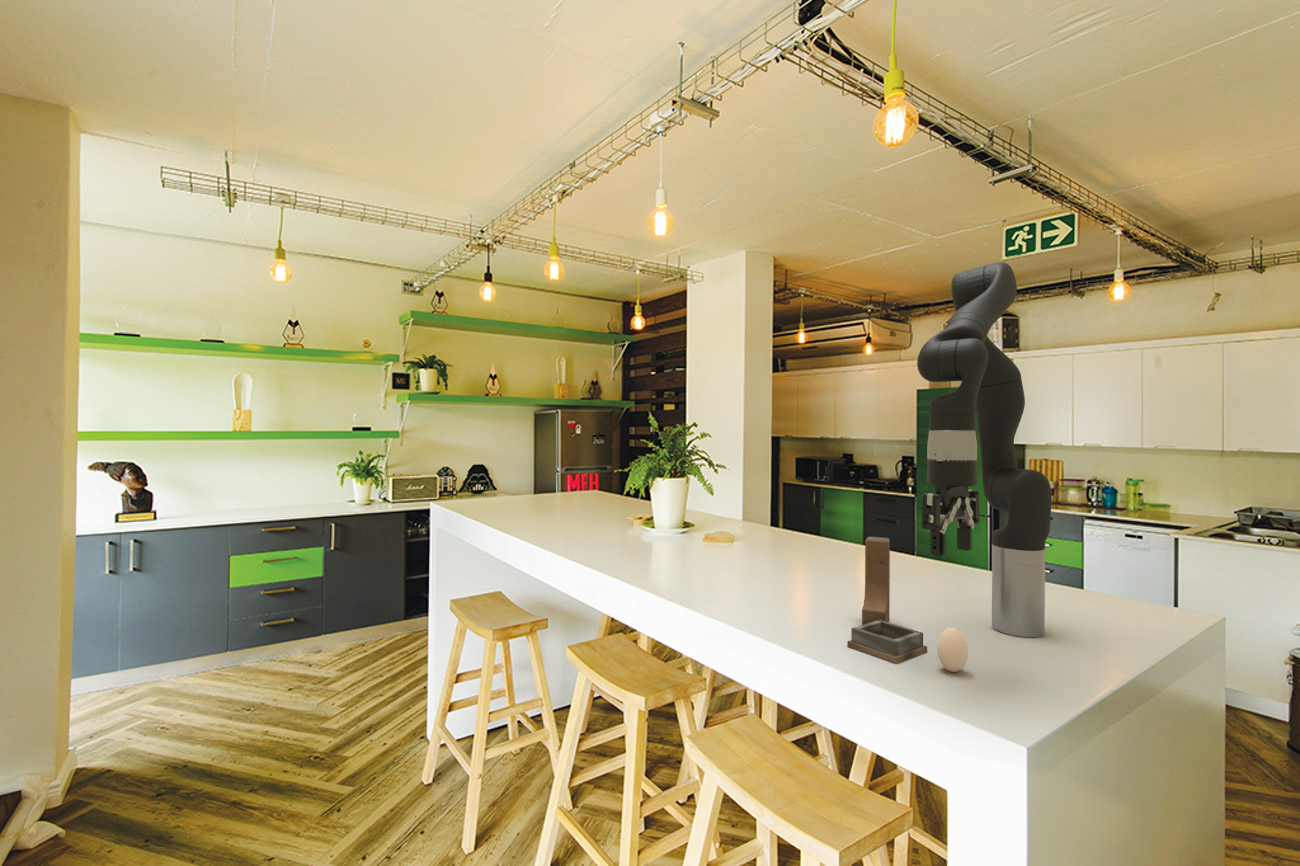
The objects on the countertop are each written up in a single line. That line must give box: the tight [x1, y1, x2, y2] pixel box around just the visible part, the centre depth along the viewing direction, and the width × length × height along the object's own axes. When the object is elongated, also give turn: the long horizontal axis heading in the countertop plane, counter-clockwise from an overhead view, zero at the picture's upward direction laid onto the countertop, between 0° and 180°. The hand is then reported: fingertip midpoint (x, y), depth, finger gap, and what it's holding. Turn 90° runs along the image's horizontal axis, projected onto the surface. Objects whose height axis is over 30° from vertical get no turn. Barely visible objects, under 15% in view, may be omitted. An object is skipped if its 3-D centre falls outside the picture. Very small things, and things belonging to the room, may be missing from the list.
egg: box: [936, 626, 969, 673], centre depth 99 cm, size 5×5×7 cm
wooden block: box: [861, 536, 891, 625], centre depth 122 cm, size 9×4×18 cm, turn 152°
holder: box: [846, 620, 928, 665], centre depth 109 cm, size 10×10×4 cm
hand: (951, 552), depth 99 cm, fingers open, 8 cm apart
